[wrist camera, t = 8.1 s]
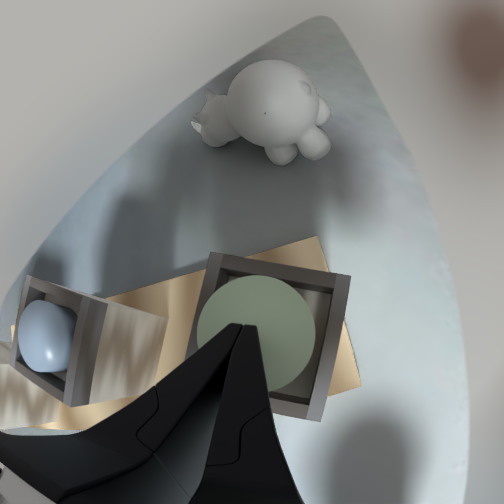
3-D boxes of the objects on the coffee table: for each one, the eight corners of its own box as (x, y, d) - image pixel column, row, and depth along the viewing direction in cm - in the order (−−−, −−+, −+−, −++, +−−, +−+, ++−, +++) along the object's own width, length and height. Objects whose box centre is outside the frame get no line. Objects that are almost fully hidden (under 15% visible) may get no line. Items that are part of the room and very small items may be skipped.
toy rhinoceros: (234, 126, 32) (183, 75, 25) (340, 105, 25) (300, 32, 18) (216, 183, 30) (154, 133, 23) (335, 169, 23) (286, 92, 16)
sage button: (301, 395, 11) (300, 404, 9) (204, 371, 12) (185, 375, 10) (323, 295, 12) (325, 286, 10) (226, 277, 13) (212, 265, 11)
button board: (359, 384, 20) (400, 415, 10) (33, 425, 23) (-42, 433, 13) (316, 239, 24) (320, 165, 14) (17, 326, 27) (-57, 311, 17)
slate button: (77, 382, 14) (54, 383, 12) (36, 357, 15) (13, 355, 13) (90, 316, 15) (67, 311, 13) (47, 298, 16) (25, 292, 14)
